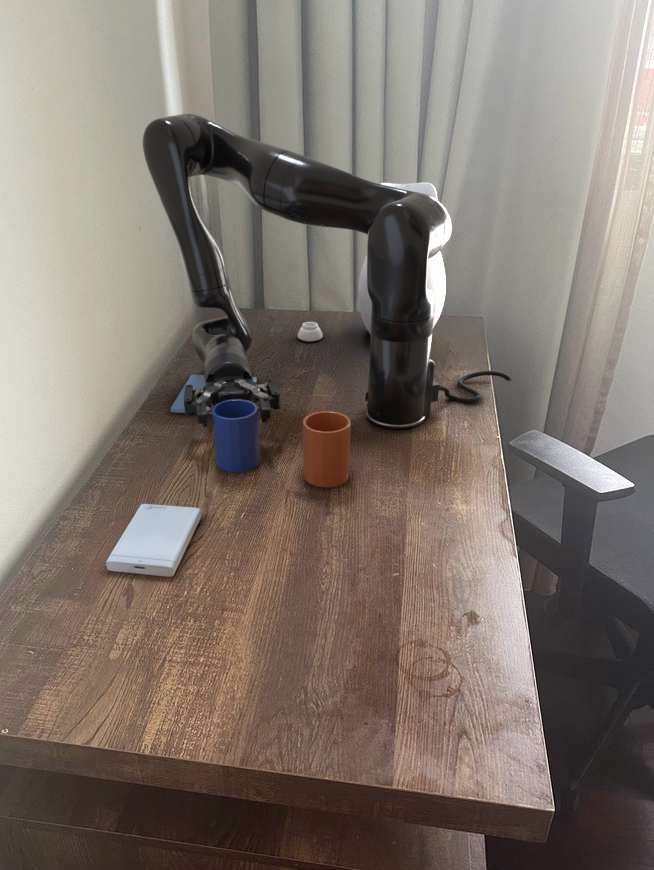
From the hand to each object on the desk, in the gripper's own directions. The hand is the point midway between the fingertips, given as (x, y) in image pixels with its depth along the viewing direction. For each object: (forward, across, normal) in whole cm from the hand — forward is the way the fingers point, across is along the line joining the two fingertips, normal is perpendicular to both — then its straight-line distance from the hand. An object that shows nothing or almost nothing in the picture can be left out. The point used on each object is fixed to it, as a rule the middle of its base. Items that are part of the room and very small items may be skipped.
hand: (234, 418), depth 105 cm
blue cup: (+1, 0, +6) cm, 7 cm away
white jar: (-46, +18, +7) cm, 50 cm away
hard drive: (+20, -12, +7) cm, 24 cm away
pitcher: (-41, +35, +7) cm, 55 cm away
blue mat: (-22, -2, +6) cm, 23 cm away
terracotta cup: (+7, +12, +6) cm, 15 cm away
